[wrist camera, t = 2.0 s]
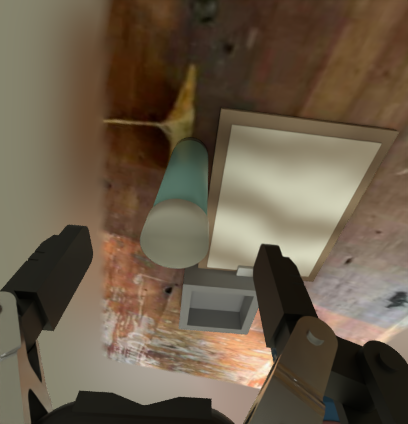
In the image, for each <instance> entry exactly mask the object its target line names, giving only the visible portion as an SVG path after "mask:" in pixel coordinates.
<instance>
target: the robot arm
mask: <svg viewBox="0 0 408 424" xmlns="http://www.w3.org/2000/svg"><path fill="white" fill-rule="evenodd" d="M92 258H93V249H92V245H91V239H90V234H89V230H88V228H87V227H86V226H79V225H67V226H66V227H65V228H64V229H63V231H62V232H61V233H60V234H59V235H53V236H51V237H50V238H48V239H47V240H45V241H44V242H42V243H41V244H40V246H39V247H38V248H37V249H36V250H35V253H33V254H32V255H31V256H30V257H29V258H28V261H26V262H25V263H24V264H23V265H22V266H21V267H20V269H19V270H18V271H17V272H16V273H15V275H14V276H13V277H12V278H11V279H10V280H9V281H8V282H7V284H6V285H5V286H4V287H3V288H2V289H1V290H0V424H234V423H233V422H232V421H231V420H230V419H229V418H228V417H226V416H225V415H224V414H222V413H220V412H219V411H217V410H215V409H212V408H211V399H207V398H206V399H205V398H191V397H190V398H189V397H177V398H173V399H169V400H165V401H161V402H157V403H153V404H150V405H141V404H139V403H136V402H134V401H131V400H129V399H126V398H124V397H122V396H119V395H116V394H114V393H107V392H92V391H91V392H90V391H79V393H78V396H77V398H76V401H74V402H71V403H68V404H65V405H63V406H60V407H59V408H56V409H55V410H53V407H52V403H51V399H50V396H49V394H48V391H47V387H46V383H45V377H44V371H43V366H42V361H41V355H40V349H39V344H38V340H37V338H38V336H39V334H40V333H41V331H42V330H48V331H54V329H55V327H56V326H57V324H58V322H59V320H60V318H61V317H62V315H63V313H64V311H65V309H66V308H67V306H68V304H69V302H70V300H71V299H72V297H73V295H74V293H75V291H76V289H77V288H78V286H79V284H80V282H81V280H82V279H83V277H84V275H85V273H86V271H87V269H88V268H89V265H90V264H91V262H92ZM300 276H301V275H300V273H299V270H298V268H297V266H296V265H295V263H294V262H293V261H292V260H291V259H290V258H289V257H283V255H282V252H281V250H280V247H279V246H278V245H273V244H261V245H260V248H259V251H258V254H257V257H256V260H255V263H254V267H253V281H254V286H255V291H256V296H257V301H258V306H259V311H260V316H261V321H262V327H263V332H264V337H265V342H266V347H268V348H276V352H277V358H276V360H275V362H274V364H273V366H272V368H271V370H270V372H269V374H268V376H267V378H266V380H265V382H264V384H263V386H262V388H261V390H260V392H259V394H258V396H257V398H256V400H255V402H254V404H253V405H252V407H251V409H250V411H249V413H248V415H247V417H246V419H245V420H244V422H243V424H322V422H323V419H324V415H325V404H324V403H323V396H327V397H329V398H331V399H333V401H334V404H335V407H336V411H337V414H338V417H339V420H340V423H341V424H408V364H407V363H406V361H405V360H404V358H403V357H402V356H401V355H400V354H399V353H398V352H397V351H395V350H394V349H393V348H392V347H390V346H389V345H387V344H385V343H383V342H380V341H373V340H372V341H368V342H367V343H366V344H365V345H364V346H360V345H358V344H355V343H353V342H350V341H348V340H345V339H342V338H340V337H338V336H336V335H335V333H334V332H333V330H332V329H331V328H330V327H329V326H328V325H327V324H326V323H325V322H323V321H322V320H320V319H319V318H318V316H317V314H316V311H315V309H314V307H313V304H312V302H311V299H310V297H309V294H308V292H307V290H306V287H305V286H304V282H303V280H302V278H301V277H300Z"/></svg>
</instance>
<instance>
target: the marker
mask: <svg viewBox="0 0 408 424" xmlns="http://www.w3.org/2000/svg"><path fill="white" fill-rule="evenodd" d="M207 199H208V153H207V149H206V147H205V145H204V144H203V143H202V142H201V141H200V140H198V139H196V138H191V137H190V138H185V139H182V140H181V141H180V142H179V143H178V144H177V145H176V147H175V148H174V150H173V152H172V155H171V158H170V161H169V164H168V166H167V169H166V172H165V175H164V178H163V181H162V183H161V186H160V189H159V192H158V195H157V197H156V200H155V203H154V206H153V208H152V209H151V210H150V212H149V214H148V217H147V219H146V222H145V225H144V227H143V230H142V233H141V236H140V245H141V248H142V250H143V252H144V253H145V255H146V256H147V257H148V258H149V259H150V260H152V261H153V262H155V263H157V264H159V265H161V266H164V267H168V268H187V267H190V266H193V265H195V264H197V263H199V262H200V261H201V260H202V259H203V258H204V257H205V256H206V254H207V252H208V249H209V221H208V218H207Z"/></svg>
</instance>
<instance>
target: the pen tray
mask: <svg viewBox="0 0 408 424" xmlns="http://www.w3.org/2000/svg"><path fill="white" fill-rule="evenodd" d="M258 308H259V306H258V301H257V296H256V291H255V286H254V281H253V277H247V276H237V275H236V271H225V270H215V269H204V268H198V264H195V265H193V266H190V267H187V268H185V273H184V282H183V292H182V302H181V311H180V321H179V329H186V330H198V331H210V332H222V333H234V334H246V335H247V334H248V332H249V329H250V327H251V324H252V322H253V320H254V317H255V315H256V312H257V310H258Z"/></svg>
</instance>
